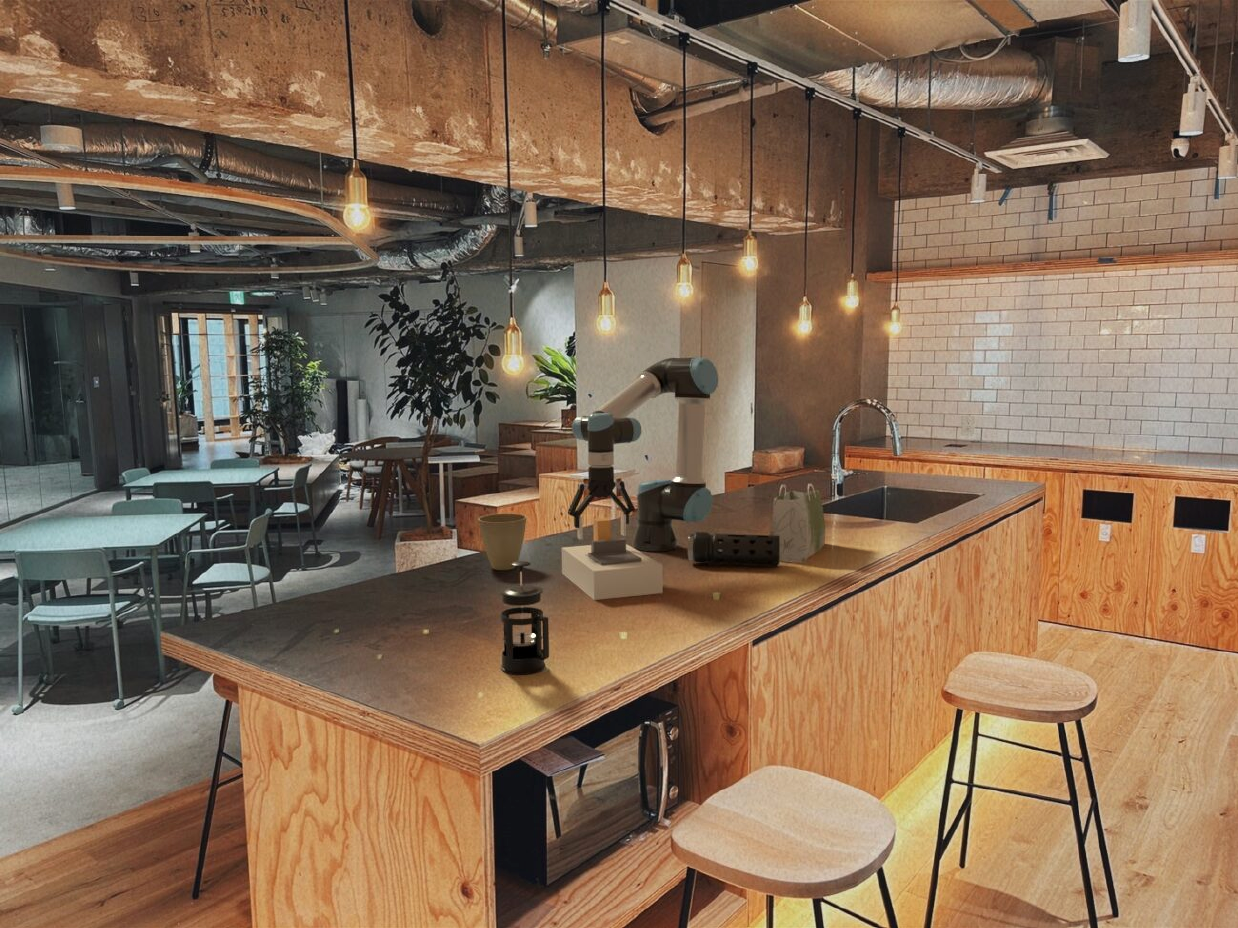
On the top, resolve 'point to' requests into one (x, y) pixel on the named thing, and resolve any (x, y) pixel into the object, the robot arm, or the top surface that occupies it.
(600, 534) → the plug peg
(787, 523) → the grocery bag
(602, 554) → the shutter
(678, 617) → the top surface
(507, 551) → the plant pot
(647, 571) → the socket block
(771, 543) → the muzzle brake
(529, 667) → the french press
